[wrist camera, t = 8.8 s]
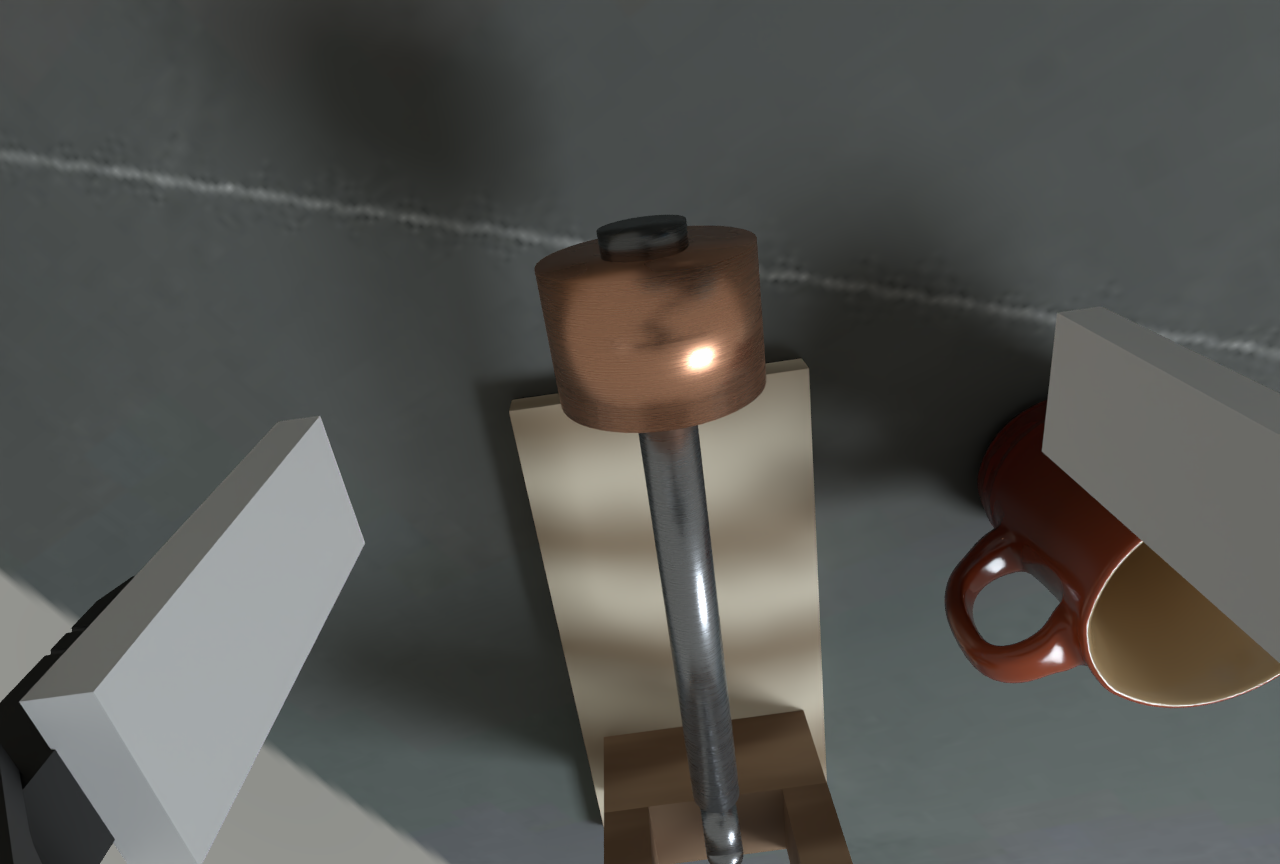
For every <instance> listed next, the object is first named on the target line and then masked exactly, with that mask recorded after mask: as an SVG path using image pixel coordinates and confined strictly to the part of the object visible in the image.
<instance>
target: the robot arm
mask: <svg viewBox="0 0 1280 864" xmlns="http://www.w3.org/2000/svg"><path fill="white" fill-rule="evenodd" d="M1042 452H1043V453H1044V454H1045V455H1046V456H1048V457H1049V458H1050V459H1051V460H1052V461H1053V462H1054V463H1055V464H1057V465H1058V466H1059V467H1060V468H1061V469H1062V470H1063V471H1064V472H1066V473H1067V474H1068V475H1069V476H1070V477H1071V478H1072V479H1073V480H1075V481H1076V482H1077V483H1078V484H1079V485H1080V486H1081V487H1082V488H1083V489H1085V490H1086V491H1087V492H1088V493H1089V494H1090V495H1091V496H1092V497H1094V498H1095V499H1096V500H1097V501H1098V502H1099V503H1100V504H1101V505H1103V506H1104V507H1105V508H1106V509H1107V510H1108V511H1109V512H1110V513H1112V514H1113V515H1114V516H1115V517H1116V518H1117V519H1118V520H1119V521H1121V522H1122V523H1123V524H1124V525H1125V526H1126V527H1127V528H1128V529H1130V530H1131V531H1132V532H1133V533H1134V534H1135V535H1136V536H1137V537H1139V538H1140V539H1141V540H1142V541H1143V542H1144V543H1145V544H1146V545H1148V546H1149V547H1150V548H1151V549H1152V550H1153V551H1154V552H1155V553H1156V554H1158V555H1159V556H1160V557H1161V558H1162V559H1163V560H1164V561H1165V562H1167V563H1168V564H1169V565H1170V566H1171V567H1172V568H1173V569H1174V570H1176V571H1177V572H1178V573H1179V574H1180V575H1181V576H1182V577H1183V578H1185V579H1186V580H1187V581H1188V582H1189V583H1190V584H1191V585H1192V586H1194V587H1195V588H1196V589H1197V590H1198V591H1199V592H1200V593H1201V594H1203V595H1204V596H1205V597H1206V598H1207V599H1208V600H1209V601H1210V602H1212V603H1213V604H1214V605H1215V606H1216V607H1217V608H1218V609H1219V610H1220V611H1222V612H1223V613H1224V614H1225V615H1226V616H1227V617H1228V618H1229V619H1231V620H1232V621H1233V622H1234V623H1235V624H1236V625H1237V626H1238V627H1240V628H1241V629H1242V630H1243V631H1244V632H1245V633H1246V634H1247V635H1249V636H1250V637H1251V638H1252V639H1253V640H1254V641H1255V642H1256V643H1258V644H1259V645H1260V646H1261V647H1262V648H1263V649H1264V650H1265V651H1267V652H1268V653H1269V654H1270V655H1271V656H1272V657H1273V658H1274V659H1276V660H1277V661H1278V662H1279V663H1280V394H1279V393H1277V392H1275V391H1273V390H1271V389H1269V388H1267V387H1265V386H1263V385H1261V384H1259V383H1257V382H1255V381H1253V380H1251V379H1249V378H1247V377H1245V376H1243V375H1241V374H1239V373H1237V372H1234V371H1232V370H1230V369H1228V368H1226V367H1224V366H1222V365H1220V364H1218V363H1216V362H1214V361H1212V360H1210V359H1208V358H1206V357H1204V356H1202V355H1200V354H1198V353H1196V352H1194V351H1192V350H1190V349H1187V348H1185V347H1183V346H1181V345H1179V344H1177V343H1175V342H1173V341H1171V340H1169V339H1167V338H1165V337H1163V336H1161V335H1159V334H1157V333H1155V332H1153V331H1151V330H1149V329H1147V328H1145V327H1142V326H1140V325H1138V324H1136V323H1134V322H1132V321H1130V320H1128V319H1126V318H1124V317H1122V316H1120V315H1118V314H1116V313H1114V312H1112V311H1110V310H1108V309H1106V308H1104V307H1102V306H1100V307H1093V308H1086V309H1079V310H1072V311H1065V312H1058V313H1057V319H1056V328H1055V337H1054V346H1053V355H1052V364H1051V373H1050V382H1049V391H1048V400H1047V409H1046V418H1045V427H1044V436H1043V445H1042ZM364 544H365V542H364V539H363V536H362V533H361V530H360V528H359V525H358V522H357V519H356V516H355V513H354V511H353V508H352V505H351V502H350V499H349V496H348V494H347V491H346V488H345V485H344V482H343V479H342V477H341V474H340V471H339V468H338V465H337V462H336V460H335V457H334V454H333V451H332V448H331V445H330V443H329V440H328V437H327V434H326V431H325V428H324V426H323V423H322V420H321V417H320V416H315V417H308V418H300V419H293V420H286V421H279V422H277V423H276V424H275V425H274V427H273V428H272V429H271V430H270V431H269V432H268V433H267V434H266V435H265V436H264V437H263V438H262V440H261V441H260V442H259V443H258V444H257V445H256V446H255V447H254V448H253V449H252V450H251V451H250V453H249V454H248V455H247V456H246V457H245V458H244V459H243V460H242V461H241V462H240V463H239V464H238V465H237V467H236V468H235V469H234V470H233V471H232V472H231V473H230V474H229V475H228V476H227V477H226V478H225V480H224V481H223V482H222V483H221V484H220V485H219V486H218V487H217V488H216V489H215V490H214V491H213V493H212V494H211V495H210V496H209V497H208V498H207V499H206V500H205V501H204V502H203V503H202V504H201V505H200V507H199V508H198V509H197V510H196V511H195V512H194V513H193V514H192V515H191V516H190V517H189V518H188V520H187V521H186V522H185V523H184V524H183V525H182V526H181V527H180V528H179V529H178V530H177V531H176V533H175V534H174V535H173V536H172V537H171V538H170V539H169V540H168V541H167V542H166V543H165V544H164V546H163V547H162V548H161V549H160V550H159V551H158V552H157V553H156V554H155V555H154V556H153V557H152V558H151V560H150V561H149V562H148V563H147V564H146V565H145V566H144V567H143V568H142V569H141V570H140V571H139V573H138V574H137V575H136V576H133V577H131V578H130V579H128V580H127V581H125V582H124V583H122V584H121V585H120V586H118V587H117V588H115V589H114V590H112V591H111V592H109V593H108V594H107V595H105V596H104V597H102V598H101V599H99V600H98V601H97V602H96V603H95V604H94V605H93V606H92V607H91V608H90V609H89V610H88V611H87V612H86V613H85V614H84V615H83V616H82V617H81V618H80V619H79V620H78V622H77V623H76V624H75V625H74V626H73V627H72V632H71V633H66V634H65V635H64V636H63V637H62V638H61V639H60V640H59V641H58V643H57V644H56V645H55V646H54V647H53V648H52V649H51V654H50V655H46V656H44V657H43V658H42V659H41V660H40V661H39V663H38V664H37V665H36V666H35V667H34V668H33V669H32V670H31V671H30V672H29V673H28V674H27V675H26V676H25V677H24V678H23V679H22V680H21V681H20V683H18V685H17V686H16V687H15V688H14V689H13V690H12V691H11V692H10V693H9V694H8V695H7V696H6V697H5V698H4V699H3V700H2V701H1V703H0V864H100V862H101V861H102V859H103V858H104V856H105V855H106V853H107V851H108V850H109V848H110V847H111V845H112V844H113V843H114V845H115V846H116V848H117V849H118V851H119V852H120V854H121V855H122V857H123V858H124V860H125V861H126V862H127V864H202V863H203V861H204V859H205V857H206V855H207V853H208V851H209V849H210V847H211V845H212V844H213V841H214V840H215V838H216V836H217V833H218V832H219V830H220V828H221V826H222V824H223V822H224V820H225V818H226V816H227V814H228V812H229V810H230V808H231V806H232V804H233V802H234V800H235V798H236V796H237V794H238V792H239V790H240V788H241V786H242V784H243V782H244V780H245V778H246V776H247V775H248V773H249V771H250V769H251V767H252V764H253V763H254V761H255V759H256V756H257V755H258V753H259V751H260V749H261V747H262V745H263V743H264V741H265V739H266V737H267V735H268V733H269V731H270V729H271V727H272V725H273V723H274V721H275V719H276V717H277V716H278V714H279V712H280V710H281V708H282V706H283V704H284V702H285V700H286V698H287V696H288V694H289V692H290V690H291V688H292V686H293V684H294V682H295V680H296V678H297V676H298V674H299V672H300V670H301V668H302V666H303V664H304V662H305V660H306V658H307V656H308V654H309V653H310V651H311V649H312V647H313V645H314V643H315V641H316V639H317V637H318V635H319V633H320V631H321V629H322V627H323V625H324V623H325V621H326V619H327V617H328V615H329V613H330V611H331V609H332V607H333V605H334V603H335V601H336V599H337V597H338V595H339V593H340V591H341V589H342V588H343V586H344V584H345V582H346V580H347V578H348V576H349V574H350V572H351V570H352V568H353V566H354V564H355V562H356V560H357V558H358V556H359V554H360V552H361V550H362V548H363V546H364Z"/></svg>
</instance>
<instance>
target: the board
mask: <svg viewBox="0 0 1280 864" xmlns="http://www.w3.org/2000/svg"><path fill="white" fill-rule="evenodd" d="M765 366H766V385H765V388H764V390H763V391H762V393H761V394H760V395H759V396H758V397H757V398H756V399H755V400H754V401H752V402H751V403H750V404H748V405H747V406H745V407H743V408H742V409H740V410H738V411H736V412H734V413H732V414H730V415H727V416H725V417H722V418H719V419H717V420H714V421H711V422H707V423H704V424H700V425H698V430H699V439H700V448H701V457H702V465H703V474H704V483H705V492H706V501H707V510H708V518H709V527H710V536H711V545H712V554H713V563H714V572H715V580H716V589H717V598H718V607H719V616H720V625H721V633H722V642H723V651H724V660H725V669H726V678H727V686H728V695H729V704H730V713H731V720H733V719H740V718H748V717H755V716H762V715H770V714H777V713H784V712H792V711H799V710H804V713H805V716H806V720H807V723H808V726H809V729H810V732H811V735H812V738H813V741H814V745H815V748H816V751H817V754H818V757H819V760H820V763H821V766H822V769H823V773H824V776H825V779H826V782H827V778H826V754H825V731H824V708H823V685H822V661H821V638H820V615H819V592H818V568H817V545H816V522H815V499H814V475H813V452H812V429H811V405H810V382H809V368H808V366H807V365H806V364H805V362H804V361H803V360H802V358H801V359H794V360H787V361H780V362H773V363H766V364H765ZM509 414H510V418H511V423H512V427H513V431H514V436H515V440H516V444H517V449H518V453H519V458H520V462H521V466H522V471H523V475H524V480H525V484H526V488H527V493H528V497H529V501H530V506H531V510H532V515H533V519H534V523H535V528H536V532H537V537H538V541H539V545H540V550H541V554H542V559H543V563H544V567H545V572H546V576H547V580H548V585H549V589H550V594H551V598H552V602H553V607H554V611H555V616H556V620H557V624H558V629H559V633H560V637H561V642H562V646H563V651H564V655H565V659H566V664H567V668H568V673H569V677H570V681H571V686H572V690H573V694H574V699H575V703H576V708H577V712H578V716H579V721H580V725H581V730H582V734H583V738H584V743H585V747H586V751H587V756H588V760H589V765H590V769H591V773H592V778H593V782H594V787H595V791H596V795H597V800H598V804H599V808H600V813H601V817H602V822H603V826H604V737H608V736H616V735H623V734H630V733H638V732H645V731H652V730H660V729H667V728H674V727H682V719H681V713H680V706H679V699H678V693H677V686H676V679H675V673H674V666H673V660H672V653H671V646H670V640H669V633H668V626H667V620H666V613H665V606H664V600H663V593H662V587H661V580H660V573H659V567H658V560H657V553H656V547H655V540H654V533H653V527H652V520H651V514H650V507H649V500H648V494H647V487H646V480H645V474H644V467H643V460H642V454H641V447H640V441H639V434H638V433H621V432H610V431H602V430H597V429H593V428H589V427H586V426H583V425H580V424H578V423H576V422H574V421H573V420H571V419H570V418H569V417H567V416H566V414H565V413H564V412H563V410H562V407H561V403H560V397H559V393H556V394H549V395H542V396H536V397H529V398H522V399H515V400H512V402H511V406H510V409H509Z"/></svg>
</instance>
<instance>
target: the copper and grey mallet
mask: <svg viewBox="0 0 1280 864" xmlns="http://www.w3.org/2000/svg"><path fill="white" fill-rule="evenodd" d="M597 237H598V239H595V240H591V241H587V242H583V243H580V244H577V245H573V246H570V247H567V248H565V249H562V250H559V251H557V252H555V253H552V254H550V255H548V256H546V257H545V258H543V259H542V260H540V261H539V262H538V263H537V264H536V266H535V275H536V280H537V285H538V290H539V295H540V300H541V305H542V310H543V316H544V321H545V326H546V331H547V336H548V341H549V346H550V351H551V356H552V362H553V367H554V372H555V377H556V382H557V387H558V392H559V397H560V403H561V407H562V410H563V412H564V413H565V414H566V416H567V417H569V418H570V419H571V420H573V421H574V422H576V423H578V424H580V425H583V426H586V427H589V428H593V429H597V430H602V431H610V432H621V433H638V434H639V441H640V447H641V454H642V460H643V467H644V474H645V480H646V487H647V494H648V500H649V507H650V514H651V520H652V527H653V533H654V540H655V547H656V553H657V560H658V567H659V573H660V580H661V587H662V593H663V600H664V606H665V613H666V620H667V626H668V633H669V640H670V646H671V653H672V660H673V666H674V673H675V679H676V686H677V693H678V699H679V706H680V713H681V719H682V726H683V733H684V739H685V746H686V752H687V759H688V766H689V772H690V779H691V786H692V792H693V798H694V801H695V802H696V804H697V805H698V806H699V807H700V812H701V819H702V826H703V833H704V840H705V847H706V854H707V858H708V861H709V863H710V864H741V862H742V859H743V845H742V839H741V832H740V826H739V819H738V813H737V807H736V802H737V800H738V798H739V784H738V775H737V766H736V757H735V748H734V740H733V731H732V722H731V713H730V704H729V695H728V686H727V678H726V669H725V660H724V651H723V642H722V633H721V625H720V616H719V607H718V598H717V589H716V580H715V572H714V563H713V554H712V545H711V536H710V527H709V518H708V510H707V501H706V492H705V483H704V474H703V465H702V457H701V448H700V439H699V430H698V425H700V424H704V423H707V422H711V421H714V420H717V419H719V418H722V417H725V416H727V415H730V414H732V413H734V412H736V411H738V410H740V409H742V408H743V407H745V406H747V405H748V404H750V403H751V402H752V401H754V400H755V399H756V398H757V397H758V396H759V395H760V394H761V393H762V391H763V390H764V388H765V385H766V366H765V351H764V337H763V322H762V308H761V293H760V279H759V264H758V250H757V237H756V236H755V234H753V233H752V232H750V231H747V230H744V229H740V228H734V227H725V226H687V223H686V218H685V217H684V216H679V215H654V216H644V217H637V218H631V219H626V220H621V221H617V222H613V223H610V224H607V225H605V226H602V227H600V228H599V229H597Z"/></svg>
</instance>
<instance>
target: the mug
mask: <svg viewBox="0 0 1280 864" xmlns="http://www.w3.org/2000/svg"><path fill="white" fill-rule="evenodd" d="M1046 409H1047V400H1045V401H1043V402H1040V403H1038V404H1036V405H1033V406H1031V407H1030V408H1028V409H1026V410H1024V411H1023V412H1021V413H1020V414H1018V415H1017V416H1016V417H1014V418H1013V419H1012V420H1011V421H1009V422H1008V423H1007V424H1006V425H1005V426H1004V427H1003V428H1002V429H1001V430H1000V431H999V433H998V434H997V435H996V436H995V438H994V439H993V441H992V442H991V443H990V445H989V447H988V449H987V450H986V453H985V455H984V457H983V460H982V462H981V465H980V469H979V473H978V478H977V485H978V491H979V496H980V500H981V503H982V505H983V507H984V509H985V512H986V515H987V517H988V519H989V521H990V523H991V524H992V526H993V527H994V529H993V530H991V531H990V532H988V533H987V534H986V535H984V536H983V537H982V538H981V539H980V540H979V541H978V542H977V543H976V544H975V545H974V546H973V547H972V548H971V550H970V551H969V552H968V553H967V554H966V555H965V557H964V558H963V559H962V560H961V561H960V562H959V564H958V565H957V566H956V567H955V569H954V570H953V572H952V574H951V575H950V577H949V580H948V582H947V586H946V591H945V611H946V616H947V620H948V623H949V626H950V628H951V631H952V633H953V635H954V637H955V639H956V641H957V643H958V645H959V647H960V648H961V650H962V652H963V653H964V655H965V656H966V658H967V659H968V660H969V661H970V663H971V664H972V665H973V666H974V667H975V668H976V669H977V670H978V671H979V672H981V673H982V674H983V675H985V676H987V677H989V678H991V679H993V680H996V681H1000V682H1004V683H1023V682H1028V681H1033V680H1036V679H1039V678H1042V677H1045V676H1048V675H1051V674H1054V673H1058V672H1063V671H1067V670H1069V669H1072V668H1074V667H1076V666H1079V665H1085V666H1088V667H1089V669H1090V670H1091V672H1092V673H1093V675H1094V676H1095V678H1096V679H1097V680H1098V681H1099V683H1100V684H1101V685H1102V686H1103V687H1104V688H1105V689H1107V690H1108V691H1109V692H1111V693H1113V694H1115V695H1117V696H1119V697H1121V698H1124V699H1127V700H1129V701H1132V702H1136V703H1139V704H1143V705H1148V706H1154V707H1163V708H1186V707H1196V706H1202V705H1208V704H1212V703H1217V702H1221V701H1224V700H1227V699H1231V698H1234V697H1236V696H1239V695H1242V694H1245V693H1247V692H1249V691H1251V690H1254V689H1256V688H1258V687H1260V686H1262V685H1264V684H1266V683H1268V682H1270V681H1271V680H1273V679H1275V678H1277V677H1278V676H1280V663H1279V662H1278V661H1277V660H1276V659H1274V658H1273V657H1272V656H1271V655H1270V654H1269V653H1268V652H1267V651H1265V650H1264V649H1263V648H1262V647H1261V646H1260V645H1259V644H1258V643H1256V642H1255V641H1254V640H1253V639H1252V638H1251V637H1250V636H1249V635H1247V634H1246V633H1245V632H1244V631H1243V630H1242V629H1241V628H1240V627H1238V626H1237V625H1236V624H1235V623H1234V622H1233V621H1232V620H1231V619H1229V618H1228V617H1227V616H1226V615H1225V614H1224V613H1223V612H1222V611H1220V610H1219V609H1218V608H1217V607H1216V606H1215V605H1214V604H1213V603H1212V602H1210V601H1209V600H1208V599H1207V598H1206V597H1205V596H1204V595H1203V594H1201V593H1200V592H1199V591H1198V590H1197V589H1196V588H1195V587H1194V586H1192V585H1191V584H1190V583H1189V582H1188V581H1187V580H1186V579H1185V578H1183V577H1182V576H1181V575H1180V574H1179V573H1178V572H1177V571H1176V570H1174V569H1173V568H1172V567H1171V566H1170V565H1169V564H1168V563H1167V562H1165V561H1164V560H1163V559H1162V558H1161V557H1160V556H1159V555H1158V554H1156V553H1155V552H1154V551H1153V550H1152V549H1151V548H1150V547H1149V546H1148V545H1146V544H1145V543H1144V542H1143V541H1142V540H1141V539H1140V538H1139V537H1137V536H1136V535H1135V534H1134V533H1133V532H1132V531H1131V530H1130V529H1128V528H1127V527H1126V526H1125V525H1124V524H1123V523H1122V522H1121V521H1119V520H1118V519H1117V518H1116V517H1115V516H1114V515H1113V514H1112V513H1110V512H1109V511H1108V510H1107V509H1106V508H1105V507H1104V506H1103V505H1101V504H1100V503H1099V502H1098V501H1097V500H1096V499H1095V498H1094V497H1092V496H1091V495H1090V494H1089V493H1088V492H1087V491H1086V490H1085V489H1083V488H1082V487H1081V486H1080V485H1079V484H1078V483H1077V482H1076V481H1075V480H1073V479H1072V478H1071V477H1070V476H1069V475H1068V474H1067V473H1066V472H1064V471H1063V470H1062V469H1061V468H1060V467H1059V466H1058V465H1057V464H1055V463H1054V462H1053V461H1052V460H1051V459H1050V458H1049V457H1048V456H1046V455H1045V454H1044V453H1043V452H1042V445H1043V436H1044V427H1045V418H1046ZM1021 571H1022V572H1027V573H1029V574H1031V575H1032V576H1034V577H1035V578H1036V579H1037V580H1038V581H1040V582H1041V583H1042V584H1043V585H1044V586H1045V587H1046V588H1047V589H1048V590H1049V591H1050V592H1051V593H1052V594H1053V595H1054V596H1055V597H1056V598H1057V599H1058V600H1059V602H1060V604H1059V605H1058V606H1057V607H1056V609H1055V610H1054V611H1053V613H1052V614H1051V616H1050V617H1049V619H1048V621H1047V622H1046V623H1045V625H1044V626H1043V627H1042V628H1041V629H1040V630H1039V631H1038V632H1037V633H1035V634H1034V635H1032V636H1031V637H1029V638H1027V639H1025V640H1023V641H1021V642H1018V643H1015V644H1012V645H1006V646H996V645H992V644H990V643H988V642H986V641H985V640H984V639H983V637H982V636H981V635H980V633H979V632H978V630H977V628H976V625H975V623H974V619H973V604H974V601H975V599H976V597H977V595H978V594H979V592H980V591H981V590H982V589H983V588H984V587H985V586H986V585H987V584H989V583H990V582H992V581H993V580H995V579H997V578H999V577H1002V576H1004V575H1007V574H1011V573H1014V572H1021Z"/></svg>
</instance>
